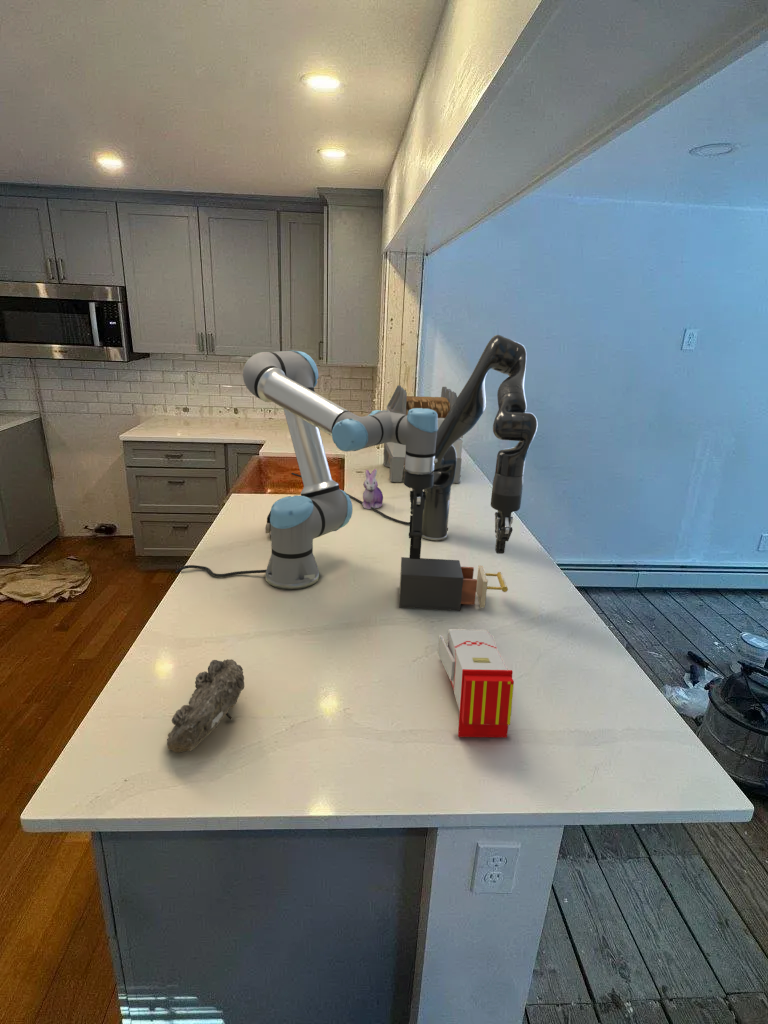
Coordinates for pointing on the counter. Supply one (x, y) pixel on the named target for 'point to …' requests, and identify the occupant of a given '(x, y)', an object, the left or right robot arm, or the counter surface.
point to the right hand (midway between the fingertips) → (499, 552)
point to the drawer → (478, 585)
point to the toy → (478, 682)
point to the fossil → (206, 705)
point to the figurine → (372, 491)
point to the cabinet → (430, 584)
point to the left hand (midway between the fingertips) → (414, 547)
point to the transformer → (402, 405)
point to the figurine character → (268, 524)
